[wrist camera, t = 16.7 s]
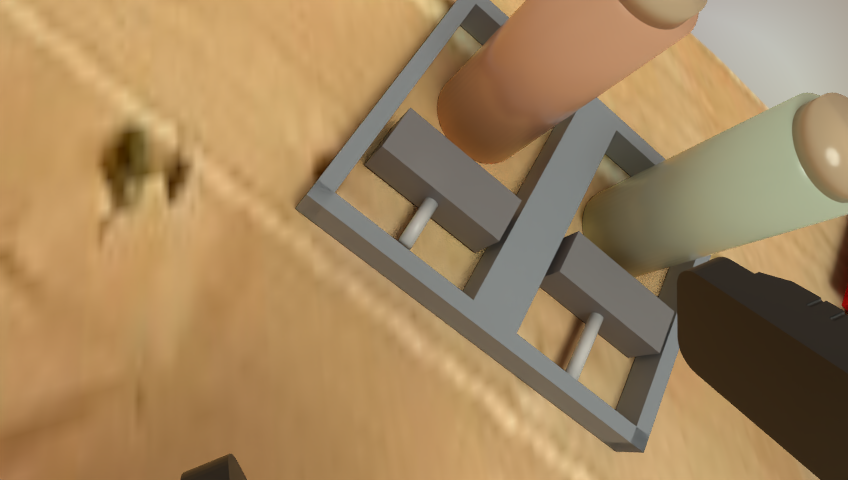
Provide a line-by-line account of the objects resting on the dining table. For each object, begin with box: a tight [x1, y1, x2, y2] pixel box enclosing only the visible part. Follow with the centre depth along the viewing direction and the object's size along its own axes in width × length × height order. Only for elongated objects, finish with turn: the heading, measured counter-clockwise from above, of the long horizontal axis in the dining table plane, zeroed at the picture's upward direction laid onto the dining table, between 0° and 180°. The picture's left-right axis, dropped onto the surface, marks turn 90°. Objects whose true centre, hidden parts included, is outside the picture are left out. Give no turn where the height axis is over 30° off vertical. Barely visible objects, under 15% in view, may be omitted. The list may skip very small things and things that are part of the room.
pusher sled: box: [365, 108, 522, 253], centre depth 34 cm, size 8×6×3 cm
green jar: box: [582, 93, 848, 277], centre depth 35 cm, size 6×6×15 cm
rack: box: [295, 0, 711, 453], centre depth 37 cm, size 23×18×3 cm
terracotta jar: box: [437, 0, 707, 164], centre depth 32 cm, size 6×6×15 cm
